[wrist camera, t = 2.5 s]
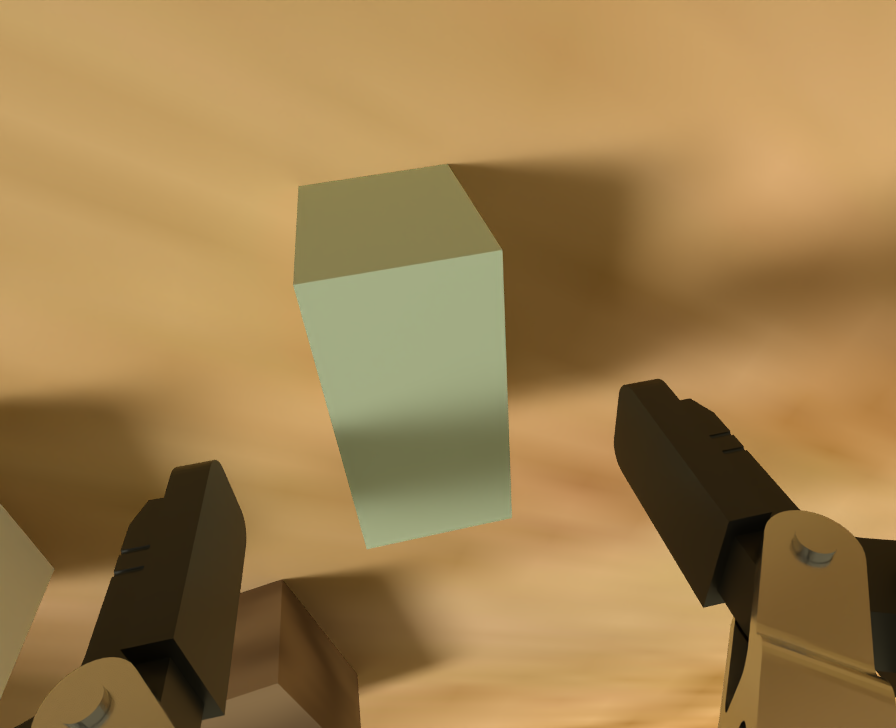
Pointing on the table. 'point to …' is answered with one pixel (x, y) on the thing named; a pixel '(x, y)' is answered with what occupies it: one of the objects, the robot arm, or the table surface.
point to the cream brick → (18, 590)
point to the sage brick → (408, 348)
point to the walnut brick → (285, 668)
